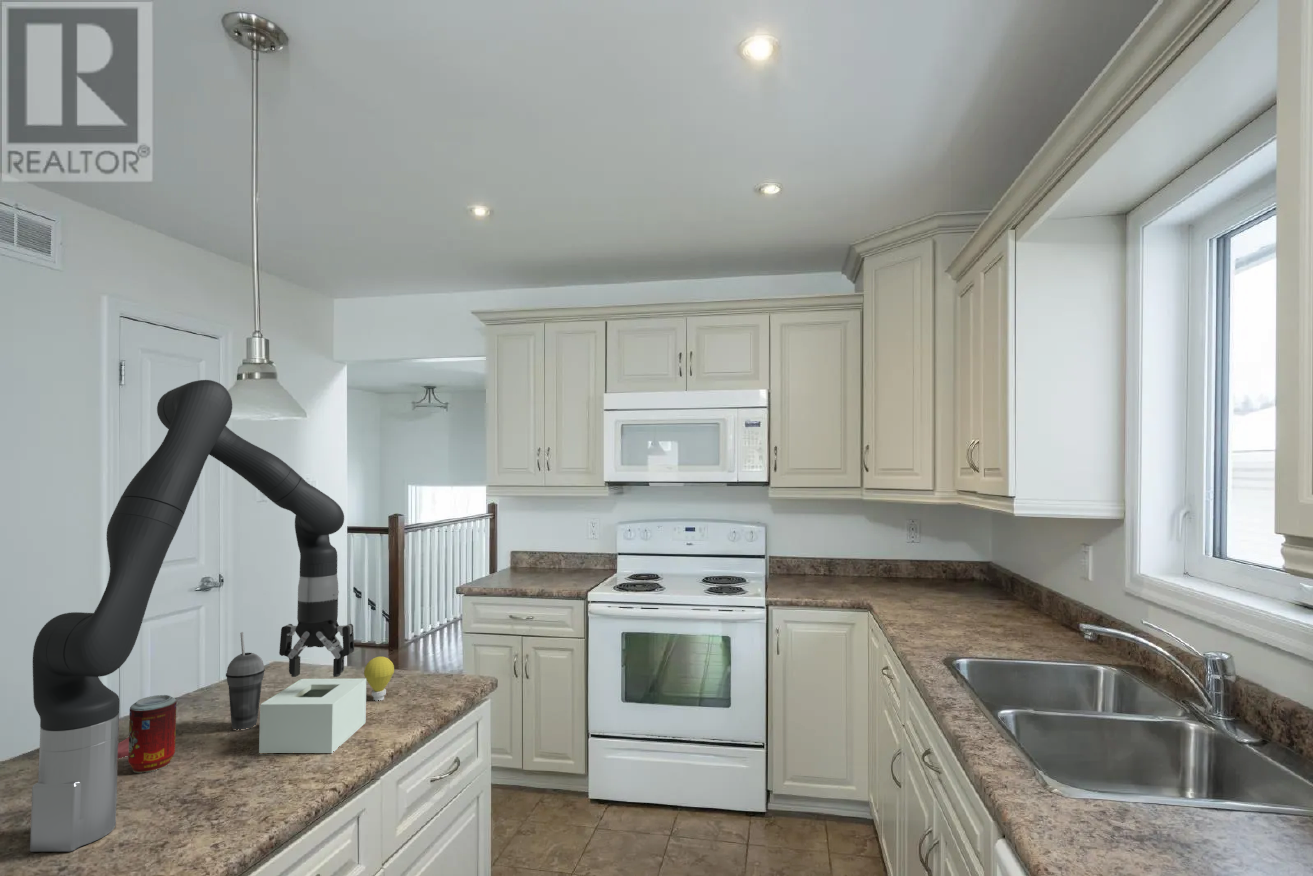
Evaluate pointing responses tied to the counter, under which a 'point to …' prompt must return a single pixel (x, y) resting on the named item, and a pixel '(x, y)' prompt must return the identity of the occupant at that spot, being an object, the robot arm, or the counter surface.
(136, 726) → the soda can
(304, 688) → the box
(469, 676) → the counter surface
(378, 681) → the light bulb
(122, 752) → the popsicle
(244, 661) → the beverage cup
